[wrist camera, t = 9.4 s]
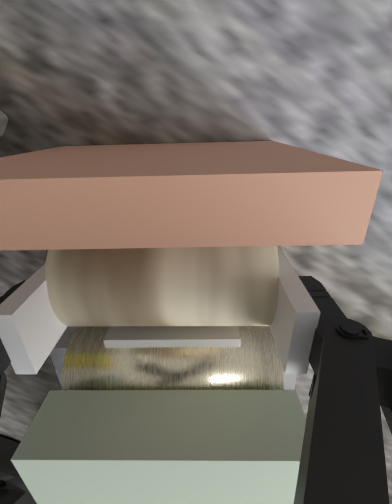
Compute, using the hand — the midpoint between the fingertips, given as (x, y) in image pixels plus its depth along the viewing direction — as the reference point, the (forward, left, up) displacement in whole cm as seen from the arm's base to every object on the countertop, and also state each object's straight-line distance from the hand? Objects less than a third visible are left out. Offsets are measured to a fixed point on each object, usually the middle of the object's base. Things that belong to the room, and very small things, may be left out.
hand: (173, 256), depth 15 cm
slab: (0, -12, +4) cm, 13 cm away
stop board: (0, +5, -1) cm, 5 cm away
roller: (0, 0, 0) cm, 0 cm away
